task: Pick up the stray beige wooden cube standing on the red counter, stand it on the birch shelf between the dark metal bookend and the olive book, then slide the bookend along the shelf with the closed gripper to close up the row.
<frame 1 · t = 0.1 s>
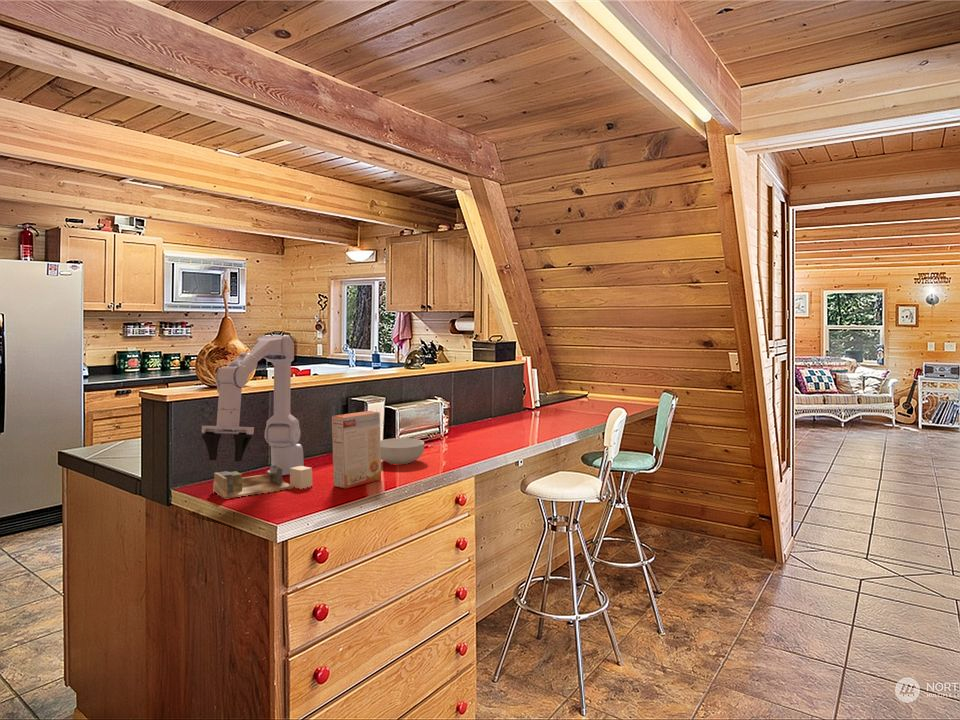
hand: (225, 460, 172), 11 cm above the countertop, tool pointing down, fingers open, 7 cm apart
cracker box: (357, 484, 189), on the countertop
beige wooden cube: (301, 486, 186), on the countertop
bookend: (276, 474, 186), point 3 cm above the countertop, slide at 0.0 cm
shelf: (253, 490, 181), on the countertop
cereal bowl: (399, 463, 218), on the countertop
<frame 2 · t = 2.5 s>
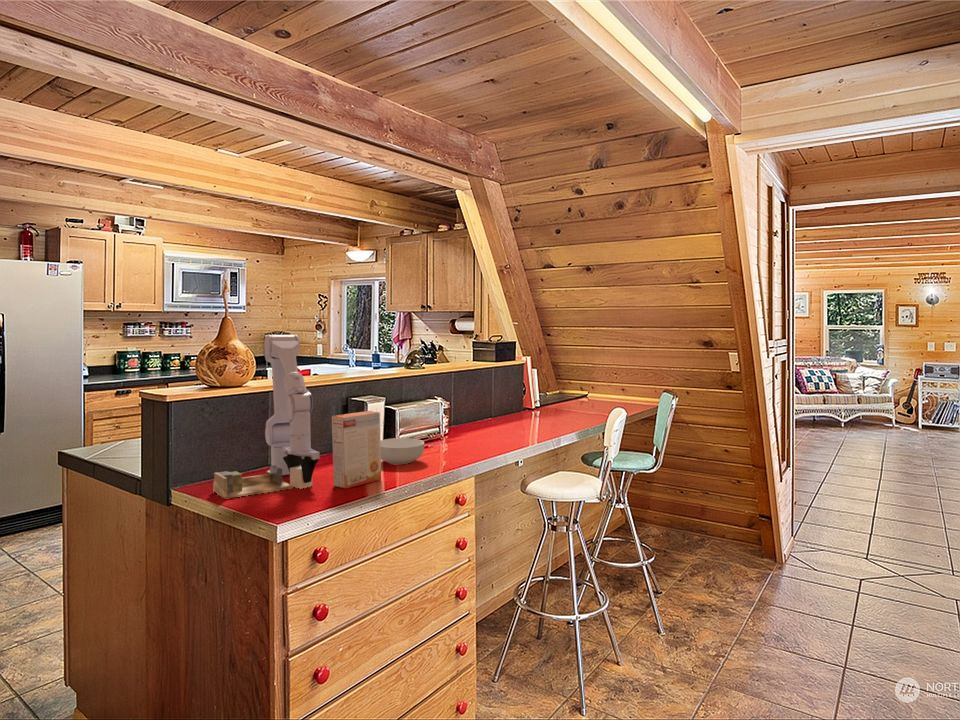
hand: (301, 480, 186), 2 cm above the countertop, tool pointing down, fingers closed on beige wooden cube, 5 cm apart
beige wooden cube: (301, 486, 186), on the countertop, touching gripper
everything else where it was.
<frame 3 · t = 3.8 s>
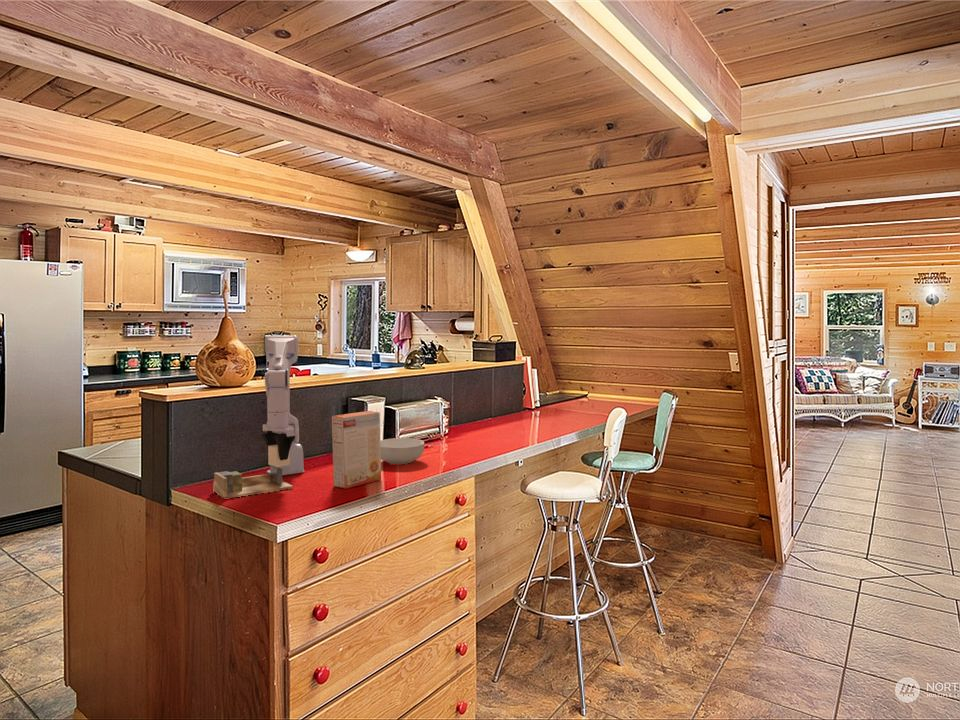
hand: (278, 458, 184), 9 cm above the countertop, tool pointing down, fingers closed on beige wooden cube, 5 cm apart
beige wooden cube: (279, 464, 184), point 7 cm above the countertop, touching gripper
everything else where it was.
when the fingers open (4 cm above the countertop, at t = 5.6 s): beige wooden cube stays where it is, resting on shelf.
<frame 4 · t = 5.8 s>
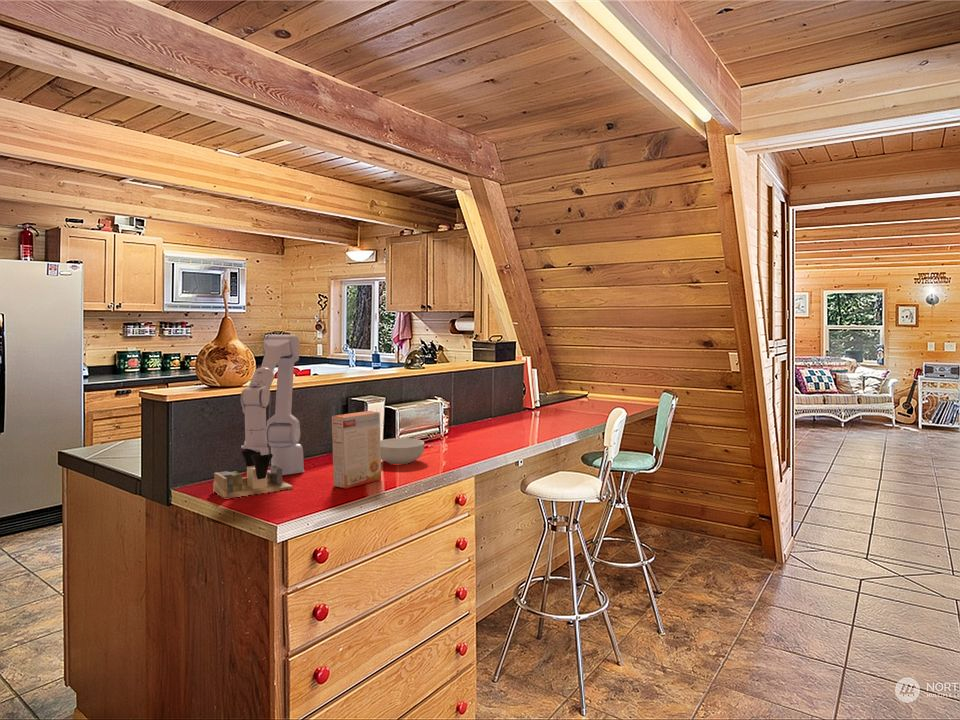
hand: (256, 476, 183), 4 cm above the countertop, tool pointing down, fingers open, 7 cm apart
beige wooden cube: (257, 486, 183), point 1 cm above the countertop, touching shelf
everything else where it was.
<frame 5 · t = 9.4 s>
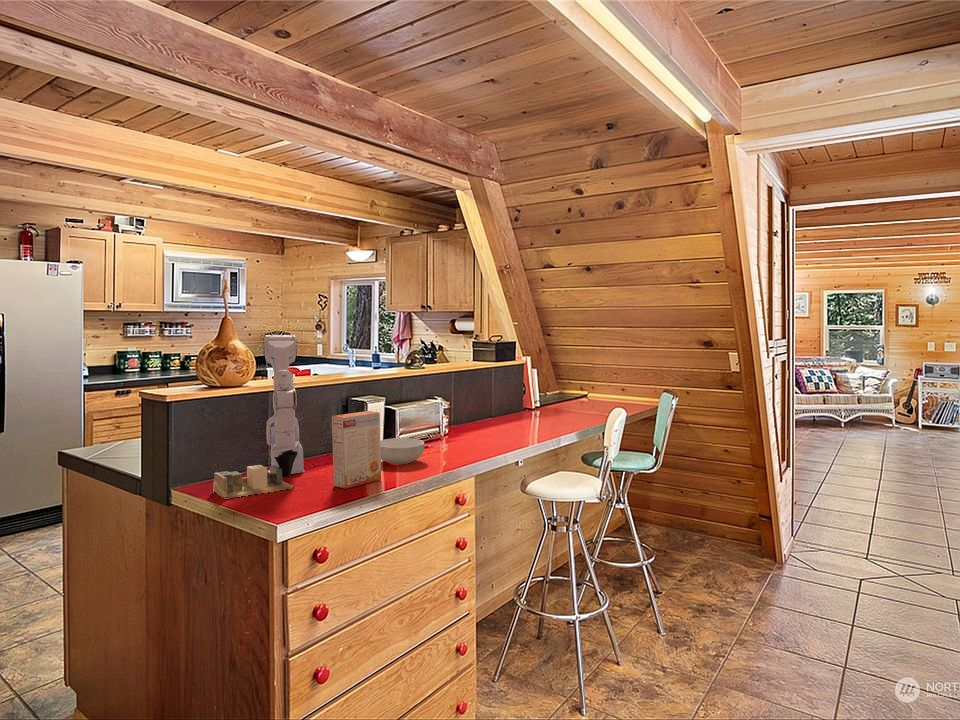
hand: (286, 476, 188), 2 cm above the countertop, tool pointing down, fingers closed
bookend: (276, 474, 186), point 3 cm above the countertop, slide at 0.0 cm, touching gripper
everything else where it was.
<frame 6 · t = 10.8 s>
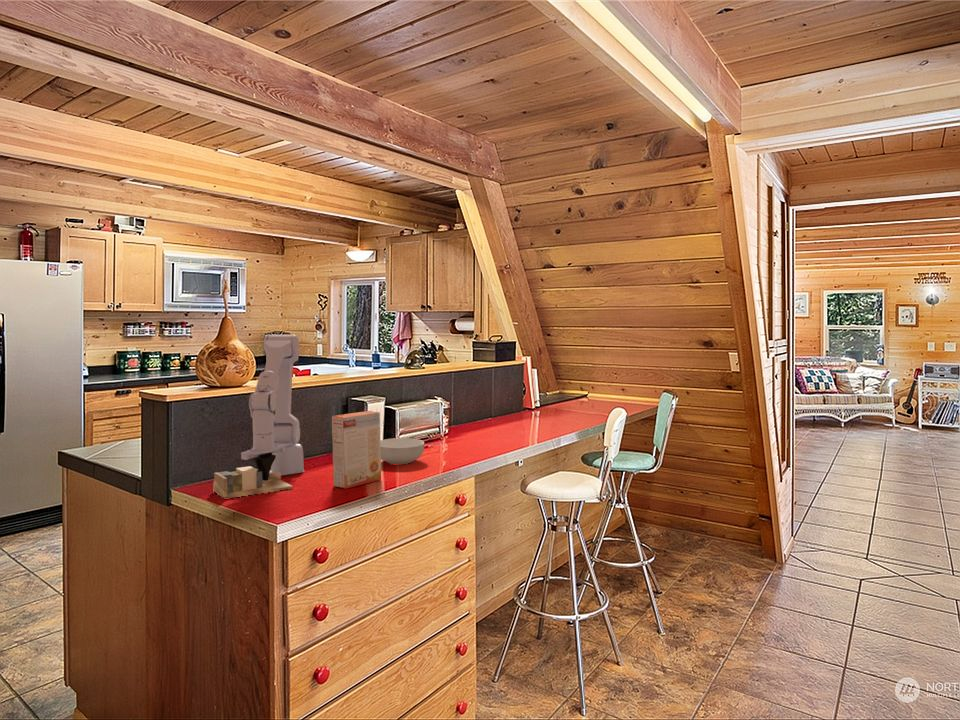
hand: (264, 480, 184), 2 cm above the countertop, tool pointing down, fingers closed
beige wooden cube: (246, 487, 181), point 1 cm above the countertop, touching bookend, shelf
bookend: (256, 477, 183), point 3 cm above the countertop, slide at 5.8 cm, touching beige wooden cube, gripper
everything else where it was.
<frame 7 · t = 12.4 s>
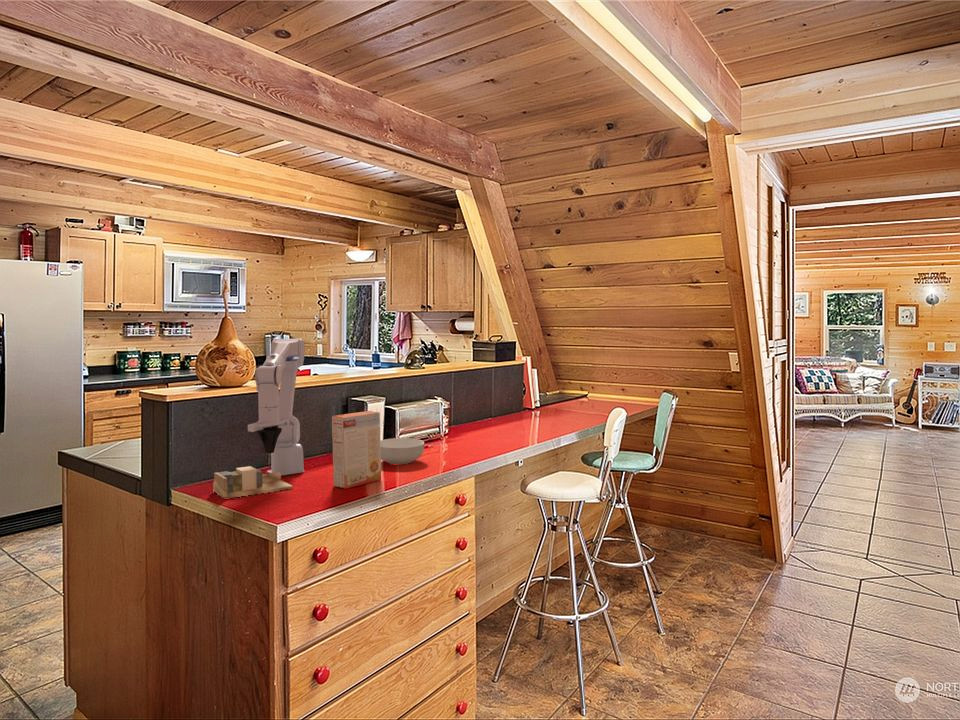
hand: (269, 452, 187), 10 cm above the countertop, tool pointing down, fingers closed
bookend: (256, 477, 183), point 3 cm above the countertop, slide at 5.8 cm, touching beige wooden cube
everything else where it was.
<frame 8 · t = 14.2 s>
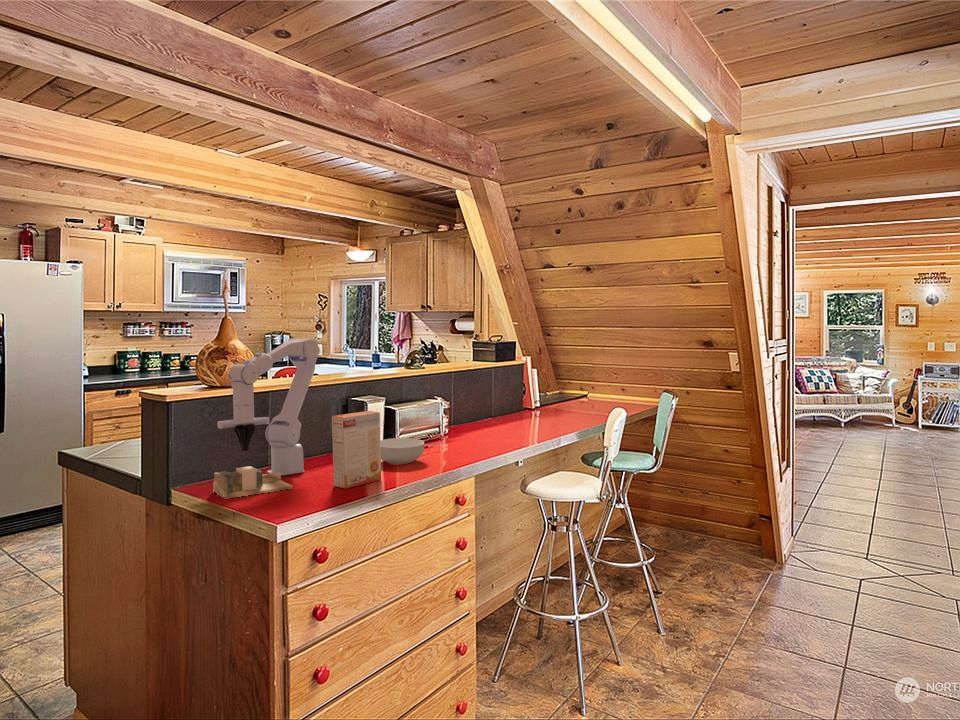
hand: (244, 450, 189), 10 cm above the countertop, tool pointing down, fingers closed
nothing on the countertop moved.
at the end: beige wooden cube 0.8 cm from the target spot, point 0.8 cm above the countertop; beige wooden cube tilted 0°; bookend slide at 5.8 cm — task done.
